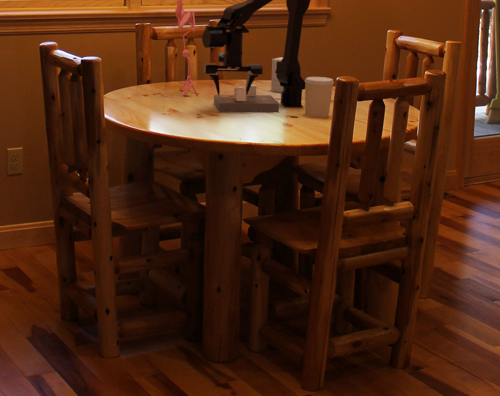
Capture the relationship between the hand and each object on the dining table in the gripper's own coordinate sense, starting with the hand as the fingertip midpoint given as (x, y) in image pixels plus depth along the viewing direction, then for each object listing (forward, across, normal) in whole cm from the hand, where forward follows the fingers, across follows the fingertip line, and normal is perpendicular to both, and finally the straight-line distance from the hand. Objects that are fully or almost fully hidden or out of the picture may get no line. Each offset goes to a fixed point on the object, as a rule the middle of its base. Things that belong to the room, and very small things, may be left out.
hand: (232, 94), depth 234 cm
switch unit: (+5, -5, -4) cm, 9 cm away
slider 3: (+2, -8, -9) cm, 12 cm away
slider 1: (+2, -3, -4) cm, 6 cm away
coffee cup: (+5, -27, +7) cm, 29 cm away
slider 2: (+2, -3, 0) cm, 3 cm away
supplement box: (+5, -25, -37) cm, 45 cm away
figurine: (+5, +16, -31) cm, 35 cm away
